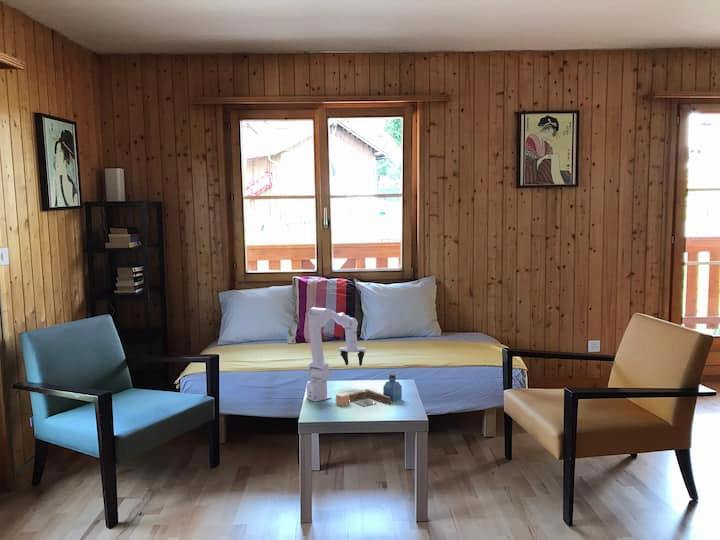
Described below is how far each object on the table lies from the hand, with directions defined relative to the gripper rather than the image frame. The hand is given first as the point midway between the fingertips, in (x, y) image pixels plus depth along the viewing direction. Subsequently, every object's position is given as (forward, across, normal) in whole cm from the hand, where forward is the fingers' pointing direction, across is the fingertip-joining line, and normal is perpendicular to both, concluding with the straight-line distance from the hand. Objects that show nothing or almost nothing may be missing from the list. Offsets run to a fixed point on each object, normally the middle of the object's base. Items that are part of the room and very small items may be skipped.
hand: (353, 365), depth 324 cm
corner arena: (+8, -17, +27) cm, 33 cm away
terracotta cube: (+7, -6, +34) cm, 35 cm away
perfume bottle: (+9, -26, +20) cm, 35 cm away
